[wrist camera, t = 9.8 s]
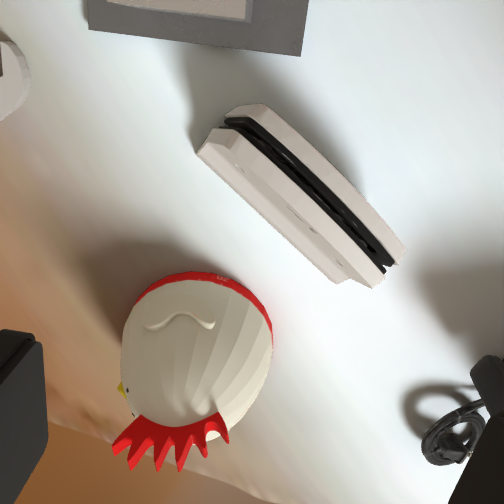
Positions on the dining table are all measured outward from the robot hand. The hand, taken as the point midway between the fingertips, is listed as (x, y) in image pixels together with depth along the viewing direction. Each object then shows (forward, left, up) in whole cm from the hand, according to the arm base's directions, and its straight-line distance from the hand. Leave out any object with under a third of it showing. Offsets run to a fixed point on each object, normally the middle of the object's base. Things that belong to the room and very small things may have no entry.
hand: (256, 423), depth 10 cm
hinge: (-3, +3, -29) cm, 30 cm away
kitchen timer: (+4, +19, -29) cm, 35 cm away
